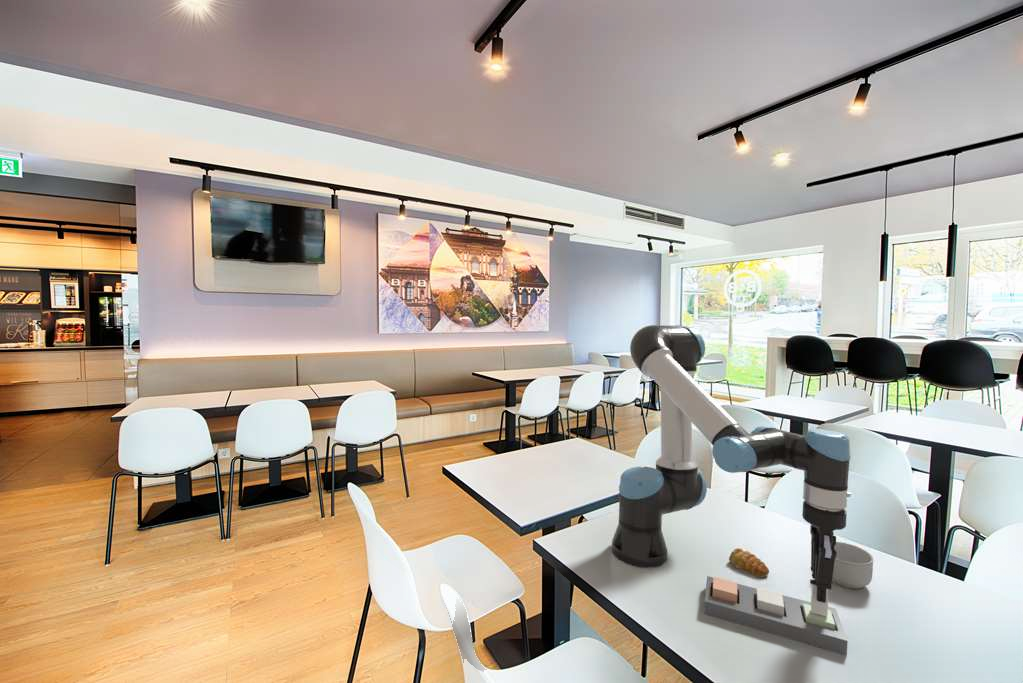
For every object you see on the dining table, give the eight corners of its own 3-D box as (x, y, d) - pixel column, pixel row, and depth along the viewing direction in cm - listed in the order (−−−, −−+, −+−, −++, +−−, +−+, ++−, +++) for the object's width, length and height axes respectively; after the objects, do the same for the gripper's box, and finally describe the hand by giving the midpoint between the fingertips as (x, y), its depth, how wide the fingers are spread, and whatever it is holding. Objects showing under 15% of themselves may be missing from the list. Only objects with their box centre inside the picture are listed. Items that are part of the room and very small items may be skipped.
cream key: (757, 610, 96) (757, 599, 96) (756, 598, 101) (756, 587, 101) (783, 618, 94) (784, 606, 94) (781, 604, 99) (782, 594, 99)
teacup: (881, 597, 106) (883, 565, 105) (831, 591, 108) (833, 559, 108) (849, 565, 119) (851, 537, 119) (805, 560, 122) (807, 532, 121)
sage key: (805, 628, 92) (806, 616, 92) (802, 614, 97) (802, 603, 97) (834, 636, 90) (835, 624, 90) (829, 621, 95) (830, 610, 95)
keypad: (704, 613, 99) (704, 601, 98) (706, 587, 108) (707, 575, 108) (846, 655, 87) (847, 640, 87) (835, 621, 97) (835, 608, 97)
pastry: (774, 575, 115) (775, 560, 115) (759, 582, 112) (759, 567, 111) (740, 557, 123) (741, 544, 123) (725, 564, 120) (726, 550, 120)
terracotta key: (712, 598, 100) (712, 588, 100) (713, 586, 105) (713, 576, 105) (736, 605, 98) (737, 594, 98) (736, 593, 103) (737, 582, 103)
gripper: (854, 520, 85) (847, 638, 86) (839, 497, 96) (834, 600, 98) (807, 512, 88) (802, 625, 89) (799, 490, 100) (794, 591, 101)
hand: (818, 612), depth 93 cm, fingers closed
